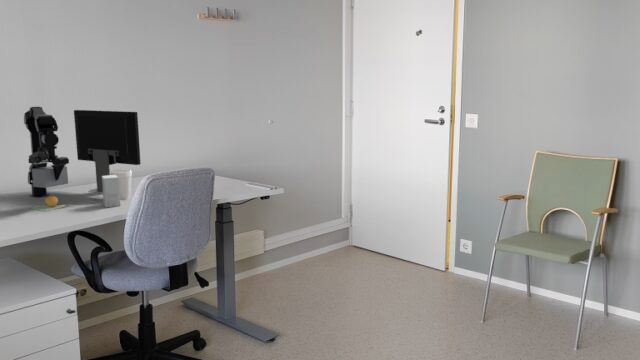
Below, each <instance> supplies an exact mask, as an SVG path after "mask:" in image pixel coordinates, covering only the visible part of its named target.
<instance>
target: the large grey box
mask: <svg viewBox="0 0 640 360" xmlns="http://www.w3.org/2000/svg"><path fill="white" fill-rule="evenodd" d="M32 176H33V187H42V188H46V189H49V188H52V187H57V186H62V185H63V186H64V185H68V184H69V176H68V167H67V165H65V166H64V168H63V170H62V172H61V174H60V177H59V179H58V180H56V179H55V174H54V169H53V167H52V166H51V165H50V166H47V167H42V168H35V169H32Z"/></svg>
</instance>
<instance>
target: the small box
mask: <svg viewBox="0 0 640 360" xmlns="http://www.w3.org/2000/svg"><path fill="white" fill-rule="evenodd" d="M102 187H103V193H102V199H103V201H102V202H103V205H104V206H105V208H111V207H112V208H113V207H119V206H121V200H120V194H119V178H118V177H117V176H116V175H111V174H110V175H107V176H102Z"/></svg>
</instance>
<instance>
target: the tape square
mask: <svg viewBox="0 0 640 360" xmlns="http://www.w3.org/2000/svg"><path fill="white" fill-rule="evenodd" d="M65 207H66V205H59V204H57V205H56V206H54V207H49V206H47V204H44V205H40V206H35V207H32V208H31V207H30V210H35V211H40V212H41V211H42V212H48V211H53V210H56V209H60V208H65Z"/></svg>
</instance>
